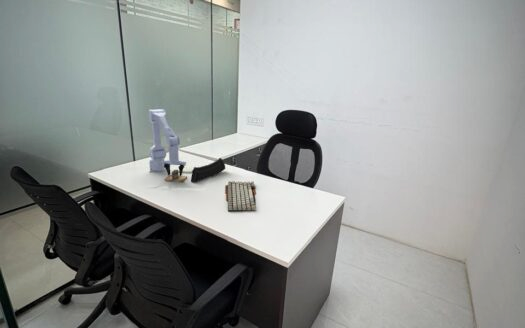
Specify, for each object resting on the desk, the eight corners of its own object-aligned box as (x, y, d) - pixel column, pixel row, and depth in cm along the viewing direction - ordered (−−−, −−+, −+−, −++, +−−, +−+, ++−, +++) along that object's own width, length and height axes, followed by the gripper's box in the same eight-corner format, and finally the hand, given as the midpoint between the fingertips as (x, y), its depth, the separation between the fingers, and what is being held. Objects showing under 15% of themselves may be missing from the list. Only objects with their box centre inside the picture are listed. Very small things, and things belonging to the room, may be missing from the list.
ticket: (174, 172, 184) (173, 170, 184) (178, 168, 193) (178, 166, 192) (190, 173, 184) (190, 171, 184) (194, 169, 193) (194, 167, 192)
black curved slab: (190, 172, 163) (221, 149, 183) (187, 170, 165) (218, 148, 185) (197, 193, 172) (226, 169, 193) (194, 192, 174) (223, 168, 194)
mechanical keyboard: (261, 212, 138) (262, 206, 137) (225, 213, 135) (225, 207, 134) (253, 184, 174) (254, 180, 173) (225, 185, 171) (225, 180, 170)
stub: (164, 180, 169) (164, 171, 167) (169, 176, 176) (168, 167, 175) (183, 182, 168) (182, 173, 167) (187, 177, 176) (186, 169, 174)
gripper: (159, 156, 162) (161, 176, 167) (182, 157, 162) (183, 178, 166) (164, 153, 169) (165, 172, 173) (186, 154, 168) (187, 174, 173)
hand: (175, 175), depth 170 cm, fingers open, 7 cm apart
